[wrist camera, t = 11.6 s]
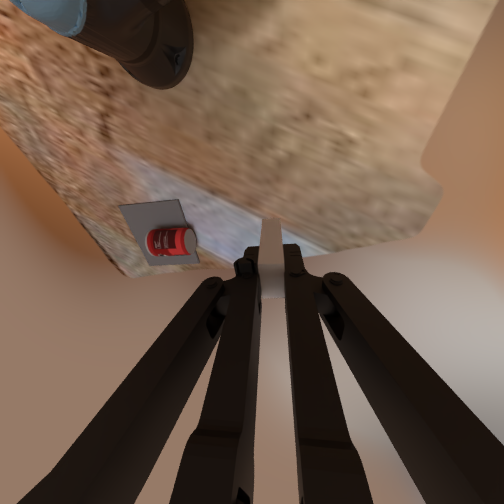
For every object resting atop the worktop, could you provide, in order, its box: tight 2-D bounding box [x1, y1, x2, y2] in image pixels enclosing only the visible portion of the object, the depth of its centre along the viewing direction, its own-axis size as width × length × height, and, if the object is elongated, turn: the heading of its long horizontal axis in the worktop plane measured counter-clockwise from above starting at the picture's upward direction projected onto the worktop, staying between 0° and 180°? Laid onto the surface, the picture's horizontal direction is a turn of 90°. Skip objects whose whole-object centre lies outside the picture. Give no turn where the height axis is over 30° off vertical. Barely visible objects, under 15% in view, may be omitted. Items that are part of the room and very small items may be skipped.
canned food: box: [145, 228, 196, 256], centre depth 52 cm, size 8×8×11 cm
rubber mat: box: [118, 199, 200, 266], centre depth 56 cm, size 21×18×1 cm
